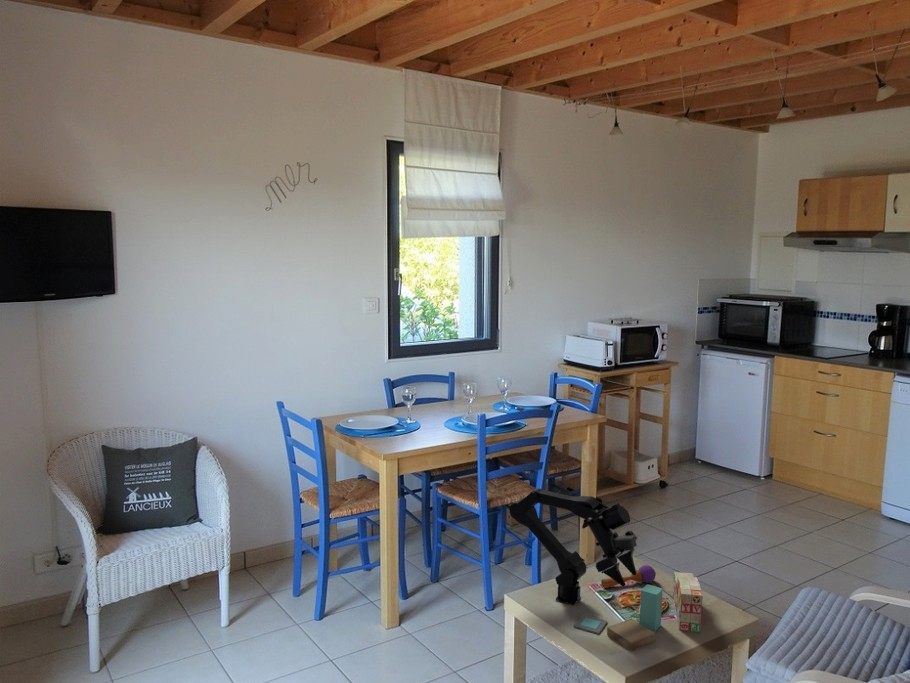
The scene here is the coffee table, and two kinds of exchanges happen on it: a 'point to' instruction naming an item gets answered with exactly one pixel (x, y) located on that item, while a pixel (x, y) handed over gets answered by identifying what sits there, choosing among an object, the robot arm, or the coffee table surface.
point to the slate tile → (590, 624)
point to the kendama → (634, 577)
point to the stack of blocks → (687, 601)
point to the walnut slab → (631, 634)
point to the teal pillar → (651, 607)
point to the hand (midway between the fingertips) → (629, 580)
